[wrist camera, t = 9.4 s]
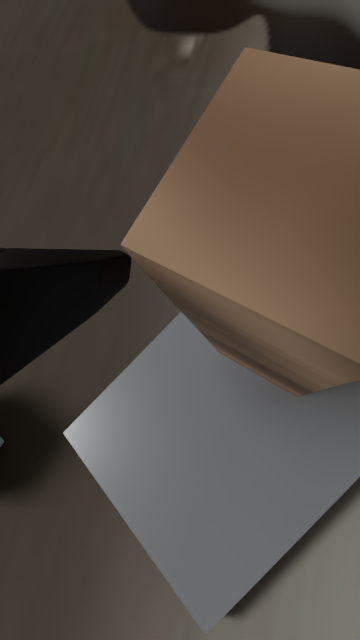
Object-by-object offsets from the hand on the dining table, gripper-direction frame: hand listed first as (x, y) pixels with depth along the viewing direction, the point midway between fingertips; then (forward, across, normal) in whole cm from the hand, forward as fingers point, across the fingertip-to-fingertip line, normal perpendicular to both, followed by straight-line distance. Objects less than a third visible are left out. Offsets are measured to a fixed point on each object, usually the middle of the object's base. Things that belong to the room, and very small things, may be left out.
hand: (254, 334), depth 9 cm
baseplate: (+5, 0, +9) cm, 11 cm away
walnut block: (+8, 0, +5) cm, 9 cm away
